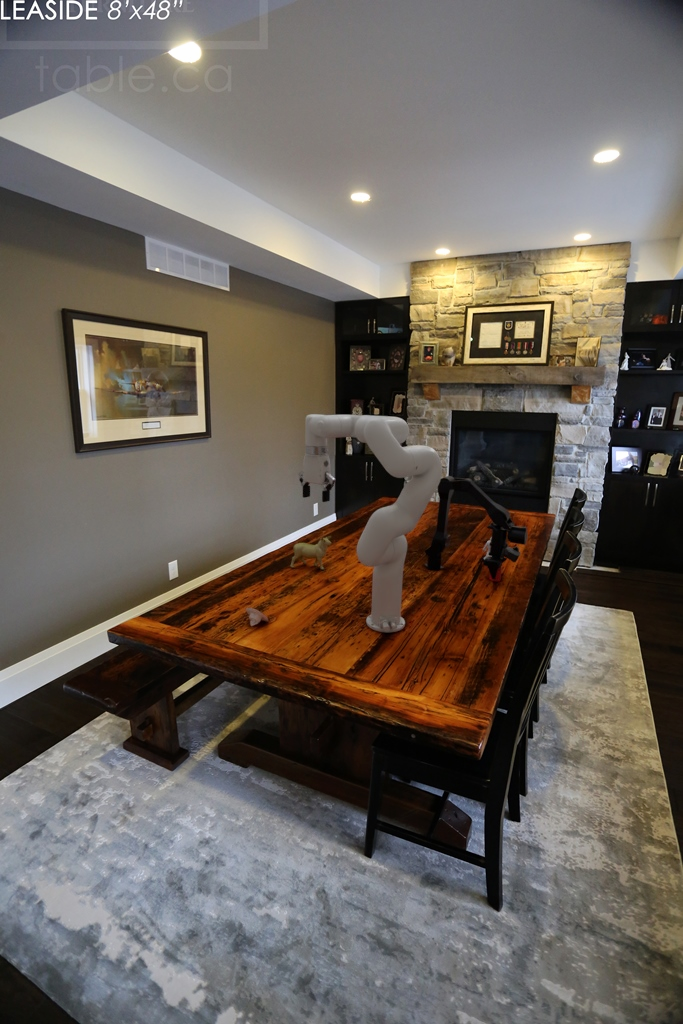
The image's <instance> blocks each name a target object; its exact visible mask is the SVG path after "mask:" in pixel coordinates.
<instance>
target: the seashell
mask: <svg viewBox="0 0 683 1024" xmlns="http://www.w3.org/2000/svg"><path fill="white" fill-rule="evenodd" d="M245 611H246V614H248V615H249V616H248V619H249V625H250V626H251V627H253V626H256V625H258V624H259V623H260V622H261V621H265V622H269V618H268V616H267V615H266V614H264V613H263V612H261V611H260V610H259V609H256V608H253V607H245Z"/></svg>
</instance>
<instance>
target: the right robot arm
mask: <svg viewBox="0 0 683 1024" xmlns="http://www.w3.org/2000/svg"><path fill="white" fill-rule="evenodd" d="M455 490H456V491H457V490H465V491H466V492H467V493H468V494H469V495H470V496H471V497H472V498H473V499H474V500H475V501H476V502H477V503H478V504H479V505H480V506H481V507H482V508H483V509H484V510H485V511H486V513H487V515H488V517H489V518H490V520H491V521H492V522H491V523H490V524H489V525H488V526H487V527H486V528H487V529H489V530H491V537H492V538H491V537H490V538H491V542H490V546H491V548H490V552H489V555H490V556H492V557H489V556H488V557H487V558H486V559H485V560H484V559H483V566H485V567H487V569H488V571H489V575H490V574H491V577H492V579H495V578H496V574H497V571H498V568H501V569H502V566H503V563H505V562H506V561H507V560H509V561H511V562H512V563H516V562H517V561H518V559H519V557H520V556H521V551H520V547H518V546H514V547H510V546H508V545H509V543H510V544H511V543H512V544H518V545H523V546H525V545H527V542H528V535H529V534H528V527H527V526H518V525H517V526H516V525H515V523H514V521H513V520H512V518H511V513H510V511H509V509H507V508H505V507H504V506H502V505H501V504H499V503H496V502H495V501H493V499H491V498H490V497H489V496H488V494H487V493H485V491H483V490H482V489H481V487H479V486H478V485H477V484H476V483H475V482H474V480H473V479H472V478H469V477H468V478H462V477H453V476H451V475H447V476H444V477H441V480H440V483H439V485H438V487H437V494H438V497H439V500H438V509H437V517H436V518H437V520H436V528H435V532H434V535H433V536H432V540H431V543H430V546H429V547H428V548H426V549H425V550H424V552H425V555H426V556H427V562H426V563H424V564H423V566H424V567H426V568H427V569H428V570H430V571H436V570H444V566H442V553H444V551H445V550H447V548H448V547H450V545H451V538H452V534H449V533H448V524H449V517H450V516H449V515H450V507H451V499H452V497H453V494H454V491H455ZM507 540H508V542H509V543H508V542H507Z"/></svg>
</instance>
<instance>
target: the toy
mask: <svg viewBox="0 0 683 1024" xmlns="http://www.w3.org/2000/svg"><path fill="white" fill-rule="evenodd" d="M331 538H332V535H328V536H326V537H320V538H319V540H318V542H317V543H316V544H310V543H306V542H299V543H298V542H297V543H296V544H294V545H293V547H292V548H293V553H294V556H292V557H291V563H290V569H295V565H294V564H295V562H296V561H297V560H300V561H301V562H302V564H303V565H304V566H307V562H306V559H309V560H311V559H314V563H313V566H314V567H318V565H319V568H320V571H325V568H324V566H323V559H324V558H325V557H326V556H327V551H328V546H329V547H330V546H331V545H332V542H331V541H330V539H331ZM304 558H305V559H304Z"/></svg>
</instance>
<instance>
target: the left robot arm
mask: <svg viewBox="0 0 683 1024" xmlns="http://www.w3.org/2000/svg"><path fill="white" fill-rule="evenodd" d="M304 421H305V423H304V425H305V428H304V430H305V431H304V432H305V433H304V434H305V436H304V437H305V439H304V441H305V443H304V445H305V447H304V448H305V451H304V452H305V453H304V456H303V461H302V462H303V463H302V470H300V471H298V473H297V476H298V478H299V480H298V481H299V482H300V486H301V487H302V498H310V497H311V485H310V484H314V485H320V486H321V488H322V492H321V499H322V500H321V502H322V503H326V502H330V500H331V490H332V489H333V487H334V485H335V483H336V478H335V477H334V476H332V465H331V460H330V455H329V454H328V453H329V448H328V439H335V438H356V439H357V440H358V441H359V442H360V443H364V444H367V446H368V448H369V450H371V452H372V453H373V455H374V456H375V457H376V459H377V461H378V462H379V463H380V464H381V465H382V467H383V468H384V469H385V471H386V472H387V473H388V474H389V475H390V476H392V477H394V478H397V479H403V478H404V479H405V478H409V477H411V478H410V479H409V480H408V481H407V483H406V484H405V485H404V486H403V488H402V490H401V492H400V494H399V496H398V497H397V499H396V501H395V502H393V503H392V504H390V505H387V506H383V507H380V508H378V509H376V510H375V511H374V512H373V513H372V514H371V515H370V517H369V519H368V521H367V523H366V525H365V527H364V529H363V531H362V533H361V535H360V537H359V539H358V542H357V545H356V557H357V559H358V561H359V562H360V564H362V565H363V566H364V567H368V568H373V569H372V585H371V586H372V587H371V607H370V609H371V613H370V615H368V616H367V617H366V621H365V622H366V623H365V624H366V625H367V627H368V628H369V629H372V630H373V631H376V632H379V633H396V632H398V631H402V630H403V629H404V628H405V626H406V620H405V618H403V617H402V615H401V614H402V599H403V598H402V597H403V580H404V567H405V562H406V557H407V554H408V541H407V537H406V535H408V534H410V533H412V532H413V531H414V529H415V528H416V526H417V525H418V523H419V521H420V519H421V518H422V516H423V514H424V512H425V510H426V509H427V507H428V505H429V503H430V501H431V499H432V497H433V496H434V494H435V493H436V491H437V490H438V485H439V483H440V480H441V479H442V475H443V464H442V463H443V462H442V460H441V457H440V455H439V454H438V452H437V450H435V449H434V448H433V447H431V446H429V445H423V444H417V445H409V446H402V444H403V443H404V442H406V441H407V439H408V438H409V435H410V427H409V425H408V423H407V422H406V420H404V419H403V418H401V417H398V416H388V415H372V414H371V415H369V414H363V415H361V414H319V413H318V414H317V413H316V414H315V413H312V414H311V413H310V414H307V415H306V416H305V420H304Z"/></svg>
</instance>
